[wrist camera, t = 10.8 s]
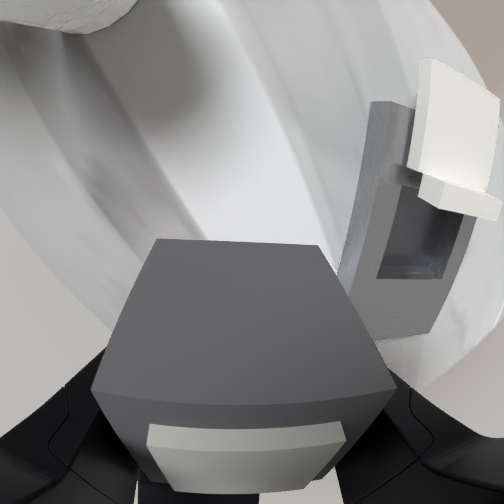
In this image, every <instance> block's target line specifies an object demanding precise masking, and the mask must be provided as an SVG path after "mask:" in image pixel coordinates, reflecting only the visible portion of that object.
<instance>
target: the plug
mask: <svg viewBox="0 0 504 504" xmlns="http://www.w3.org/2000/svg"><path fill="white" fill-rule="evenodd" d="M396 390H397V386H396V384H395V382H394V380H393V378H392V376H391V374H390V372H389V370H388V368H387V366H386V364H385V362H384V361H383V359H382V357H381V355H380V353H379V351H378V349H377V347H376V345H375V343H374V342H373V340H372V338H371V336H370V334H369V332H368V331H367V329H366V327H365V325H364V323H363V321H362V320H361V318H360V316H359V314H358V312H357V311H356V309H355V307H354V305H353V304H352V302H351V300H350V298H349V297H348V295H347V293H346V291H345V290H344V288H343V286H342V285H341V283H340V281H339V280H338V278H337V276H336V274H335V273H334V271H333V269H332V268H331V266H330V264H329V263H328V261H327V259H326V258H325V256H324V255H323V253H322V251H321V250H320V248H319V246H318V245H298V244H276V243H254V242H230V241H205V240H179V239H157V240H156V242H155V244H154V245H153V247H152V249H151V251H150V253H149V255H148V257H147V259H146V261H145V263H144V265H143V267H142V269H141V271H140V273H139V275H138V277H137V280H136V282H135V284H134V286H133V288H132V290H131V292H130V294H129V297H128V299H127V301H126V303H125V305H124V308H123V310H122V312H121V314H120V317H119V319H118V321H117V323H116V326H115V328H114V331H113V333H112V335H111V338H110V340H109V343H108V345H107V348H106V350H105V353H104V355H103V358H102V360H101V363H100V365H99V368H98V371H97V373H96V376H95V379H94V382H93V384H92V387H91V392H92V394H93V395H94V397H95V399H96V401H97V403H98V404H99V406H100V408H101V410H102V411H103V413H104V415H105V416H106V418H107V420H108V421H109V423H110V424H111V426H112V428H113V429H114V431H115V432H116V434H117V435H118V437H119V438H120V440H121V441H122V443H123V444H124V446H125V447H126V449H127V450H128V451H129V453H130V454H131V456H132V457H133V458H134V460H135V461H136V462H137V464H138V465H139V466H140V468H141V469H142V470H143V472H144V473H145V474H146V475H147V477H148V478H149V479H150V480H151V481H154V482H161V483H169V484H170V485H171V487H172V488H173V490H174V491H179V492H190V493H206V494H254V493H270V492H281V491H290V490H298V489H304V488H305V487H306V486H307V485H308V484H309V483H310V482H311V481H313V480H319V479H322V478H323V477H324V476H325V475H326V474H327V473H328V472H329V471H330V470H331V469H332V468H333V467H334V466H335V465H336V464H337V463H338V462H339V461H340V460H341V459H342V458H343V457H344V455H345V454H346V453H347V452H348V451H349V450H350V449H351V448H352V447H353V445H354V444H355V443H356V442H357V441H358V440H359V438H360V437H361V436H362V435H363V434H364V432H365V431H366V430H367V429H368V427H369V426H370V425H371V424H372V422H373V421H374V420H375V419H376V417H377V416H378V415H379V413H380V412H381V411H382V409H383V408H384V407H385V405H386V404H387V402H388V401H389V400H390V398H391V397H392V395H393V394H394V392H395V391H396Z"/></svg>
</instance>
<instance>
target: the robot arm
mask: <svg viewBox="0 0 504 504" xmlns="http://www.w3.org/2000/svg"><path fill="white" fill-rule="evenodd" d="M106 348H107V347H106ZM106 348H105V349H103V350H102V351H101V352H100V353H99V354H98V355H97V356H96V357H95V358H94V359H92V360H91V361H90V362H89V363H88V364H87V365H86V366H85V367H84V368H83V369H81V371H79V372H78V373H77V374H76V375H75V376H74V377H73V378H72V379H71V380H70V381H69V382H68V383H66V384H65V387H62V388H61V389H60V390H59V391H58V392H57V393H56V394H54V395H53V396H52V397H51V398H50V399H49V400H48V401H47V402H45V404H43V405H42V406H41V407H40V408H38V409H37V410H36V411H35V412H33V413H32V414H31V415H30V416H29V417H27V418H26V419H24V420H23V421H22V422H20V423H19V424H18V425H16V426H15V427H14V428H12V429H11V430H10V431H9V432H7V433H6V434H4V435H3V436H2V437H1V438H0V504H133V503H134V497H135V490H136V483H137V481H138V504H258V503H259V494H260V493H254V494H206V493H190V492H179V491H174V490H173V488H172V487H171V485H170V484H169V483H161V482H154V481H151V480H150V479H149V478H148V477H147V475H146V474H145V473H144V472H143V470H142V469H141V468H140V466H139V465H138V464H137V462H136V461H135V460H134V458H133V457H132V456H131V454H130V453H129V451H128V450H127V449H126V447H125V446H124V444H123V443H122V441H121V440H120V438H119V437H118V435H117V434H116V432H115V431H114V429H113V428H112V426H111V424H110V423H109V421H108V420H107V418H106V416H105V415H104V413H103V411H102V410H101V408H100V406H99V404H98V403H97V401H96V399H95V397H94V395H93V394H92V392H91V387H92V384H93V382H94V379H95V376H96V373H97V371H98V368H99V365H100V363H101V360H102V358H103V355H104V353H105V350H106ZM388 370H389V372H390V374H391V376H392V378H393V380H394V382H395V384H396V386H397V390H396V391H395V392H394V394H393V395H392V397H391V398H390V400H389V401H388V402H387V404H386V405H385V407H384V408H383V409H382V411H381V412H380V413H379V415H378V416H377V417H376V419H375V420H374V421H373V422H372V424H371V425H370V426H369V427H368V429H367V430H366V431H365V432H364V434H363V435H362V436H361V437H360V438H359V440H358V441H357V442H356V443H355V444H354V445H353V447H352V448H351V449H350V450H349V451H348V452H347V453H346V454H345V455H344V457H343V458H342V459H341V460H340V461H339V462H338V463H337V464H336V465H335V469H336V473H337V477H338V481H339V486H340V490H341V494H342V498H343V503H344V504H504V438H489V437H486V436H483V435H480V434H478V433H476V432H474V431H473V430H471V429H470V428H468V427H466V426H465V425H463V424H462V423H460V422H459V421H457V420H455V419H454V418H453V417H451V416H450V415H448V414H446V413H445V412H444V411H442V410H441V409H439V408H438V407H436V406H435V405H434V404H432V403H431V402H430V401H428V400H427V399H426V398H424V397H423V396H422V395H421V394H419V393H418V392H417V391H416V390H414V389H413V388H410V386H409V385H408V384H407V383H406V382H404V381H403V380H402V379H401V378H400V377H398V376H397V375H396V374H395V373H393V372H392V371H391V370H390V369H389V368H388Z"/></svg>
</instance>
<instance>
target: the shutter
mask: <svg viewBox="0 0 504 504" xmlns="http://www.w3.org/2000/svg"><path fill="white" fill-rule="evenodd" d="M499 111H500V99H499V98H497V97H496V96H494V95H493V94H492V93H490V92H489V91H487V90H486V89H484V88H483V87H481V86H480V85H478V84H477V83H475V82H474V81H472V80H470V79H469V78H467V77H465V76H464V75H462V74H460V73H459V72H457V71H455V70H453V69H452V68H450V67H448V66H446V65H444V64H442V63H441V62H439V61H437V60H435V59H433V58H428V59H421V60H420V64H419V80H418V92H417V102H416V110H415V118H414V126H413V133H412V139H411V145H410V151H409V157H408V162H407V167H408V168H411V169H413V170H415V171H418V172H422V173H423V176H422V181H421V185H420V189H419V194H418V197H420V198H421V199H423V200H425V201H426V202H428V203H430V204H432V205H433V206H435V207H437V208H438V209H443V210H448V211H453V212H457V213H462V214H466V215H471V216H475V217H479V218H483V219H487V220H491V221H495V222H497V221H498V218H499V214H500V211H501V207H502V203H503V201H501V200H500V199H498V198H496V197H494V196H492V195H490V194H488V193H486V191H487V187H488V183H489V178H490V174H491V169H492V163H493V158H494V152H495V146H496V139H497V131H498V122H499Z"/></svg>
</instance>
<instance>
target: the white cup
mask: <svg viewBox="0 0 504 504" xmlns="http://www.w3.org/2000/svg"><path fill="white" fill-rule="evenodd" d="M136 2H137V0H0V21H5V22H11V23H17V24H22V25H28V26H35V27H40V28H45V29H52V30H59V31H63V32H66V33H70V34H90V33H92V32H95V31H98V30H100V29H103V28H106V27H109V26H110V25H111V24H113V23H114V22H115V21H117V20H118V19H119V18H121V17H122V16H124V15H125V14H127V13H128V12H129V11H130V9H131V8H132V7H133V5H134V4H135V3H136Z"/></svg>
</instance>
